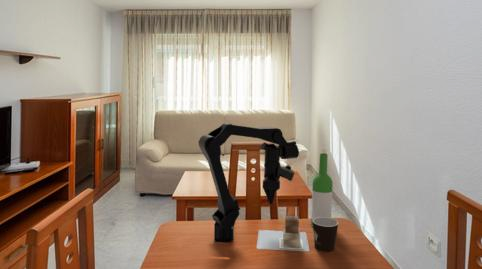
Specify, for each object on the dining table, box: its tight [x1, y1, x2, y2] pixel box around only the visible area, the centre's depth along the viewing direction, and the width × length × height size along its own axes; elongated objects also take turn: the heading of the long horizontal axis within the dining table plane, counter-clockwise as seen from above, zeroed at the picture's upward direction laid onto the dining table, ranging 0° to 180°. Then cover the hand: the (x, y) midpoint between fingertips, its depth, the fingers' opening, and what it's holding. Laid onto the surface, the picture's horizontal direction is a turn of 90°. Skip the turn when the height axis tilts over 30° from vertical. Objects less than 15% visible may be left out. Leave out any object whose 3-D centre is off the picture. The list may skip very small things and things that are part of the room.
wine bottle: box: [310, 152, 334, 228], centre depth 140 cm, size 8×8×30 cm
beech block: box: [282, 226, 301, 248], centre depth 125 cm, size 6×6×5 cm
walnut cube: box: [284, 215, 300, 233], centre depth 124 cm, size 4×4×4 cm
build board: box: [256, 229, 311, 252], centre depth 129 cm, size 18×16×1 cm
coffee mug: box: [312, 217, 339, 253], centre depth 124 cm, size 12×9×10 cm
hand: (271, 200), depth 136 cm, fingers open, 9 cm apart
